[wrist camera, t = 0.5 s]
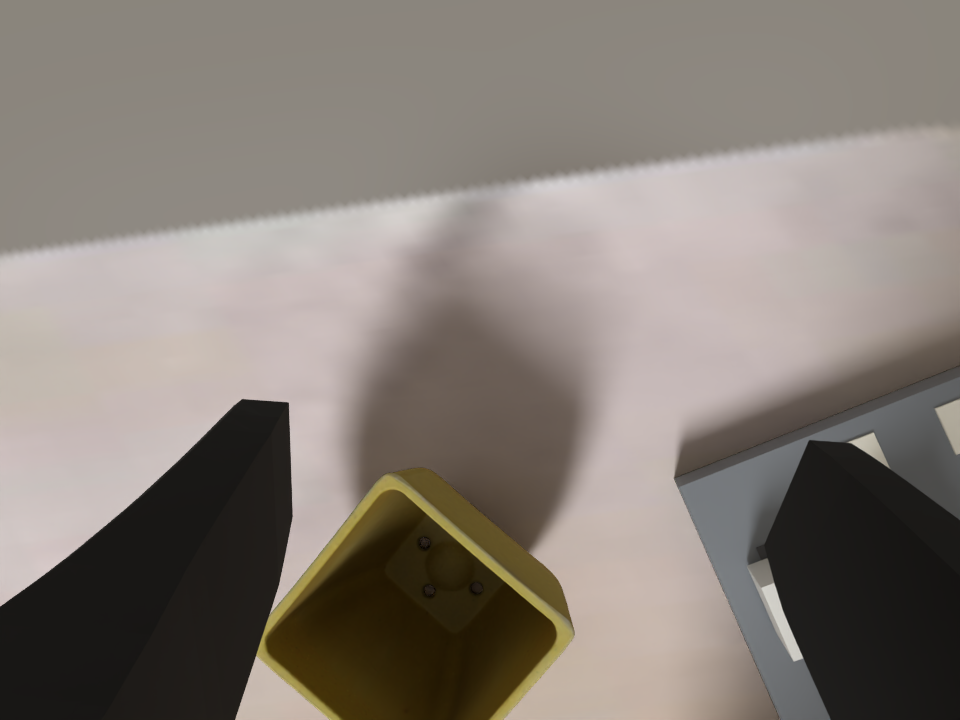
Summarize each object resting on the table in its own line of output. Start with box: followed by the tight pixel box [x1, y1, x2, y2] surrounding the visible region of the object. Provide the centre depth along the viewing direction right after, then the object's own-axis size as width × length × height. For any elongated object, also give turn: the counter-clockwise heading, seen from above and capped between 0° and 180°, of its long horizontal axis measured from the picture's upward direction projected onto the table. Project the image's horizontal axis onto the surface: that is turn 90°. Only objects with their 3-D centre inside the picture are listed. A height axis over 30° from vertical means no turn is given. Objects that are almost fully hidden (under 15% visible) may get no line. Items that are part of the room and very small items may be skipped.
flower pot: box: [256, 468, 575, 720], centre depth 31 cm, size 9×9×9 cm
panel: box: [674, 366, 960, 720], centre depth 31 cm, size 16×14×2 cm
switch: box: [747, 558, 803, 661], centre depth 29 cm, size 3×2×3 cm
